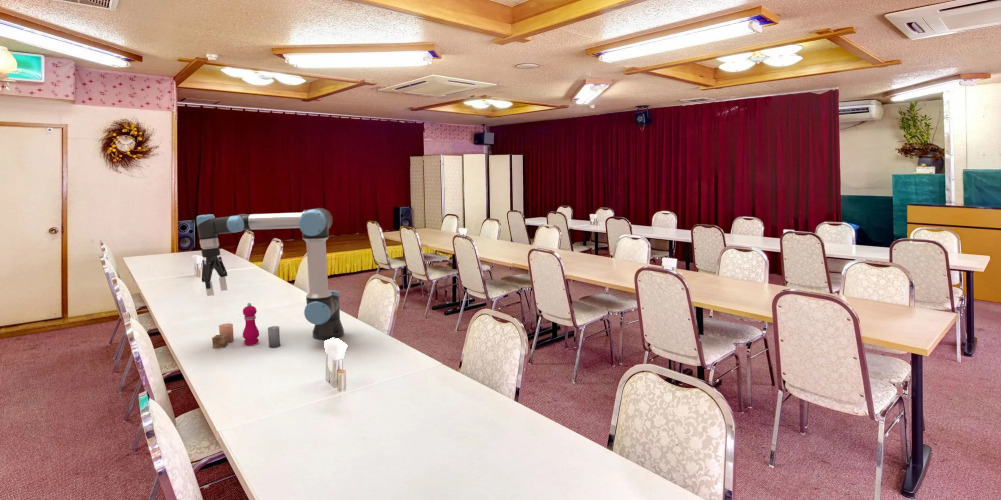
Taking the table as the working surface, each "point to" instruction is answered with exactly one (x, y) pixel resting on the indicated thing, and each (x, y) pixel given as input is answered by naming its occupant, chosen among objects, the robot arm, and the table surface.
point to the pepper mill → (250, 326)
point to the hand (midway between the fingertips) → (217, 293)
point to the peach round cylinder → (227, 331)
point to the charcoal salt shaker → (274, 336)
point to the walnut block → (220, 341)
